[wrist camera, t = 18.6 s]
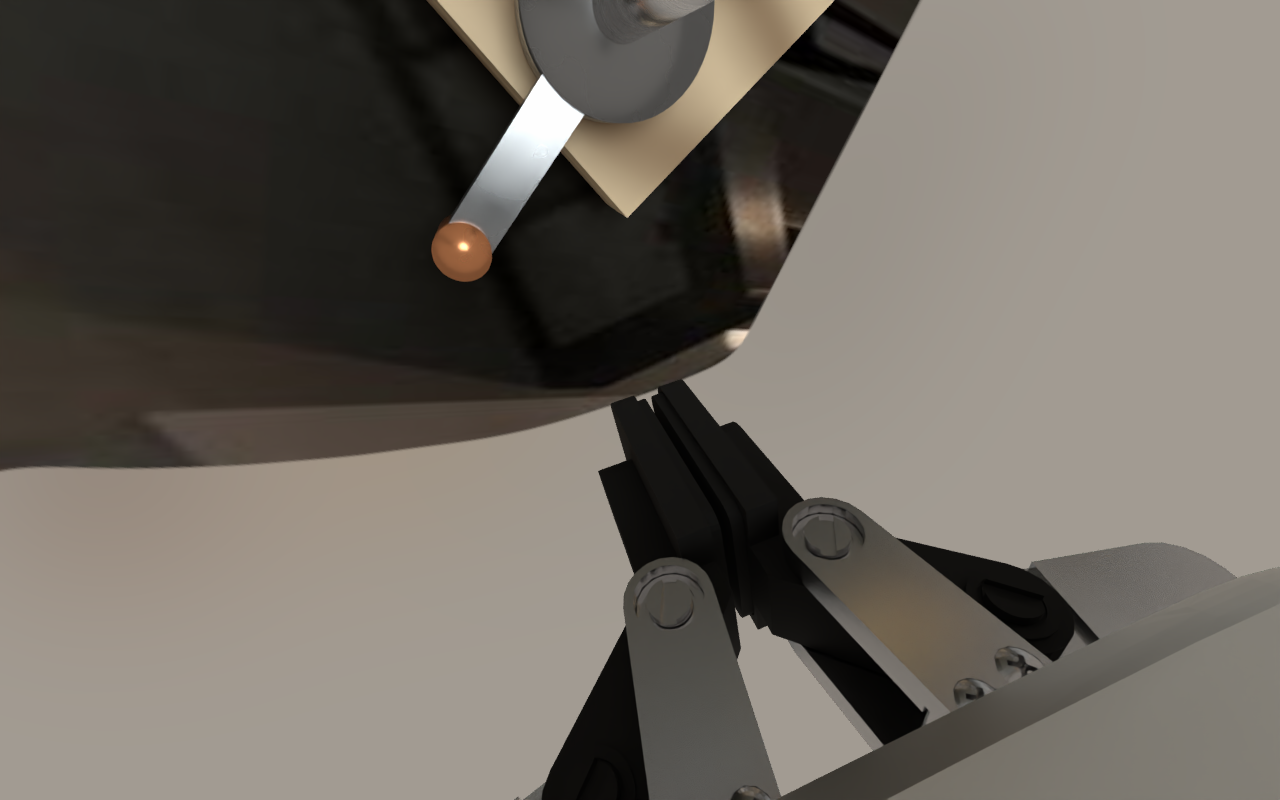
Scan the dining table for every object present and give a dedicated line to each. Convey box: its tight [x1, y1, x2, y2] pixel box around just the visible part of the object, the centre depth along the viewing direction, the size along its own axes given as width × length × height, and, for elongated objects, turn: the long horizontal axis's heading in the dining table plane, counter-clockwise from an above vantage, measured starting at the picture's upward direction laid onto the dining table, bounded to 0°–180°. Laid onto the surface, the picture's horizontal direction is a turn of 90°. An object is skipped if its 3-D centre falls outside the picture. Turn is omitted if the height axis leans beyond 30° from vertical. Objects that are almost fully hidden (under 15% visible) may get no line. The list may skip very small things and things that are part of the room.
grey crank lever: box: [432, 0, 715, 282], centre depth 18 cm, size 8×17×11 cm, turn 140°
